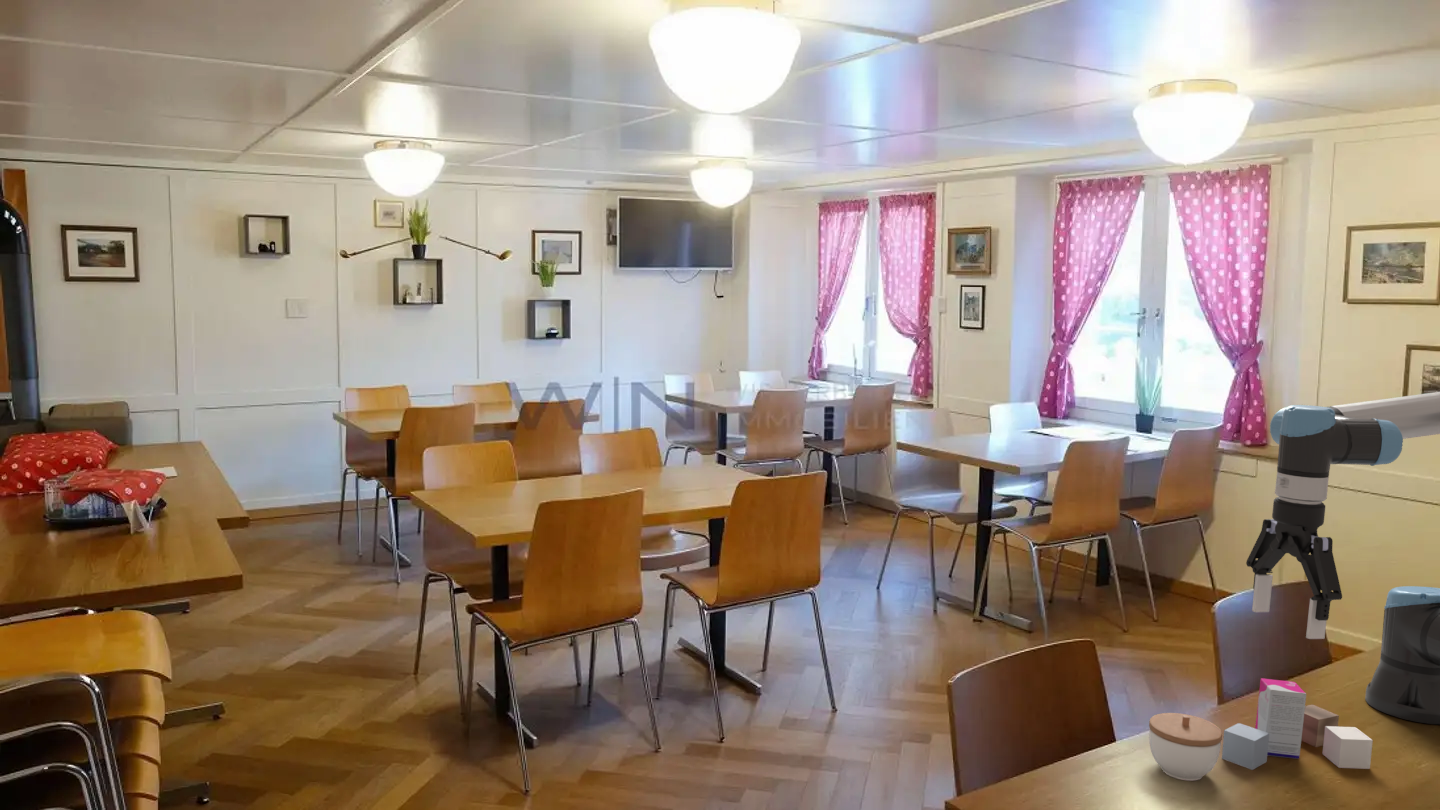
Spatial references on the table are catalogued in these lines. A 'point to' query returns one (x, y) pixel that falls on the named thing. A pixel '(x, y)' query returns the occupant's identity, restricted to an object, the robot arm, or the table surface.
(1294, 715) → the supplement box
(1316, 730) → the walnut cube
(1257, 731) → the slate-blue cube
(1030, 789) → the table surface
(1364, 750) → the off-white cube
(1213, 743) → the lidded jar
